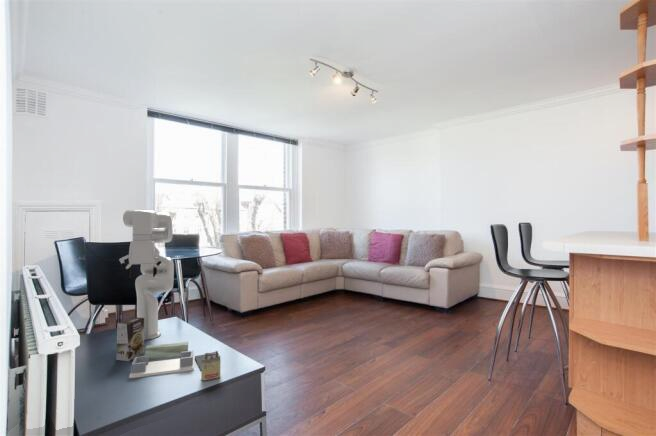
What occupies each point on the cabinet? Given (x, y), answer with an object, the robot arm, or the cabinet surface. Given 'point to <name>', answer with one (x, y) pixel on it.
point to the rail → (165, 350)
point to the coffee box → (130, 338)
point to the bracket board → (162, 365)
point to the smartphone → (199, 361)
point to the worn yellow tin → (210, 366)
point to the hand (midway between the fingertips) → (141, 276)
